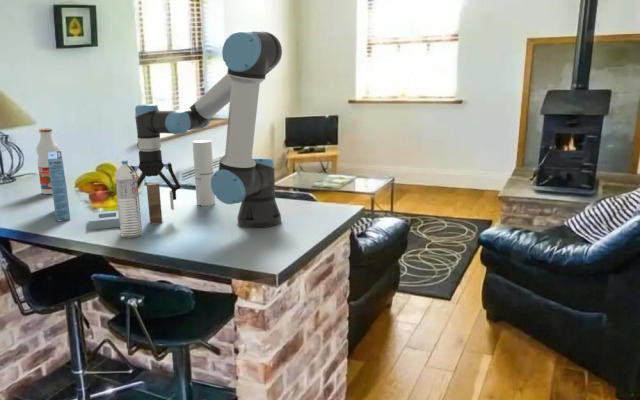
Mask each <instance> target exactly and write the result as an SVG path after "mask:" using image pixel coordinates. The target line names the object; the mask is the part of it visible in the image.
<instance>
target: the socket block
mask: <svg viewBox="0 0 640 400" xmlns="http://www.w3.org/2000/svg"><path fill="white" fill-rule="evenodd" d="M88 222H89V223H88V225H89V230H91V231H92V229H93V230H100V229H101V230H102V229H110V228H120V224H119V223H120V222H119V214H118V211H117V210H108V211H107V212H106V211H100V212H99V211H96V212H89V219H88Z"/></svg>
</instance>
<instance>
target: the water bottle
mask: <svg viewBox="0 0 640 400" xmlns="http://www.w3.org/2000/svg"><path fill="white" fill-rule="evenodd" d="M114 179H115V188H116V197H117V198H116V200H117V202H116V203H117V210H118V214H119V222H120V223H119V224H120V227H119V232H120V236H121V237H122V238H124V239H134V238H138V237H140V236H142V234H143V229H142V227H143V226H142V217H141V216H142V215H141V206H140V196H139V187H138V186H137V180H138V172H137V171H135V170H134V169H133V168H132V167H131V165H129V164H128V160H125V159H123V160H121V166H119V167H118V168H117V170H116V171H115V173H114Z"/></svg>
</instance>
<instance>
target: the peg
mask: <svg viewBox="0 0 640 400" xmlns="http://www.w3.org/2000/svg"><path fill="white" fill-rule="evenodd" d="M145 184H146V193H147V205H148V214H149V215H148V216H149V224H150V225H156V224H158V225H159V224H162V223H163V216H162V202H161V190H160V182H158V181H154V182H146V183H145Z"/></svg>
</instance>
